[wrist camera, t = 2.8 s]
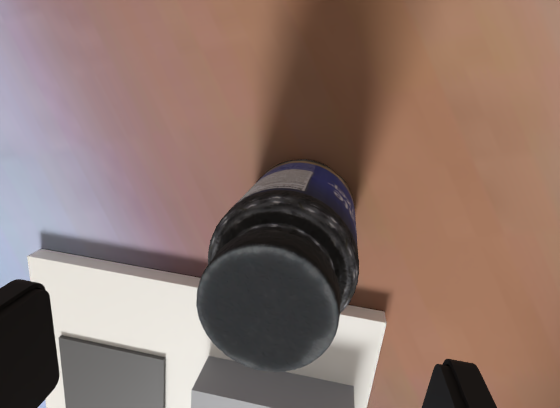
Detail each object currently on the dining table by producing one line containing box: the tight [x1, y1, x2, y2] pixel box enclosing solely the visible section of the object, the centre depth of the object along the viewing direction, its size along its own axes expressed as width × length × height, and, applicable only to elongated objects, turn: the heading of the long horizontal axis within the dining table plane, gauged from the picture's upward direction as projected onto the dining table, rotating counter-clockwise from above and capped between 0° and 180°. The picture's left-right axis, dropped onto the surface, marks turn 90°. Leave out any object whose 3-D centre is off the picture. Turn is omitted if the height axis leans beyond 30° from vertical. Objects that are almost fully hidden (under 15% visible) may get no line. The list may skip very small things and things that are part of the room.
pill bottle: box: [196, 159, 359, 372], centre depth 17 cm, size 6×6×11 cm
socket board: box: [27, 249, 386, 408], centre depth 25 cm, size 24×16×4 cm, turn 84°
